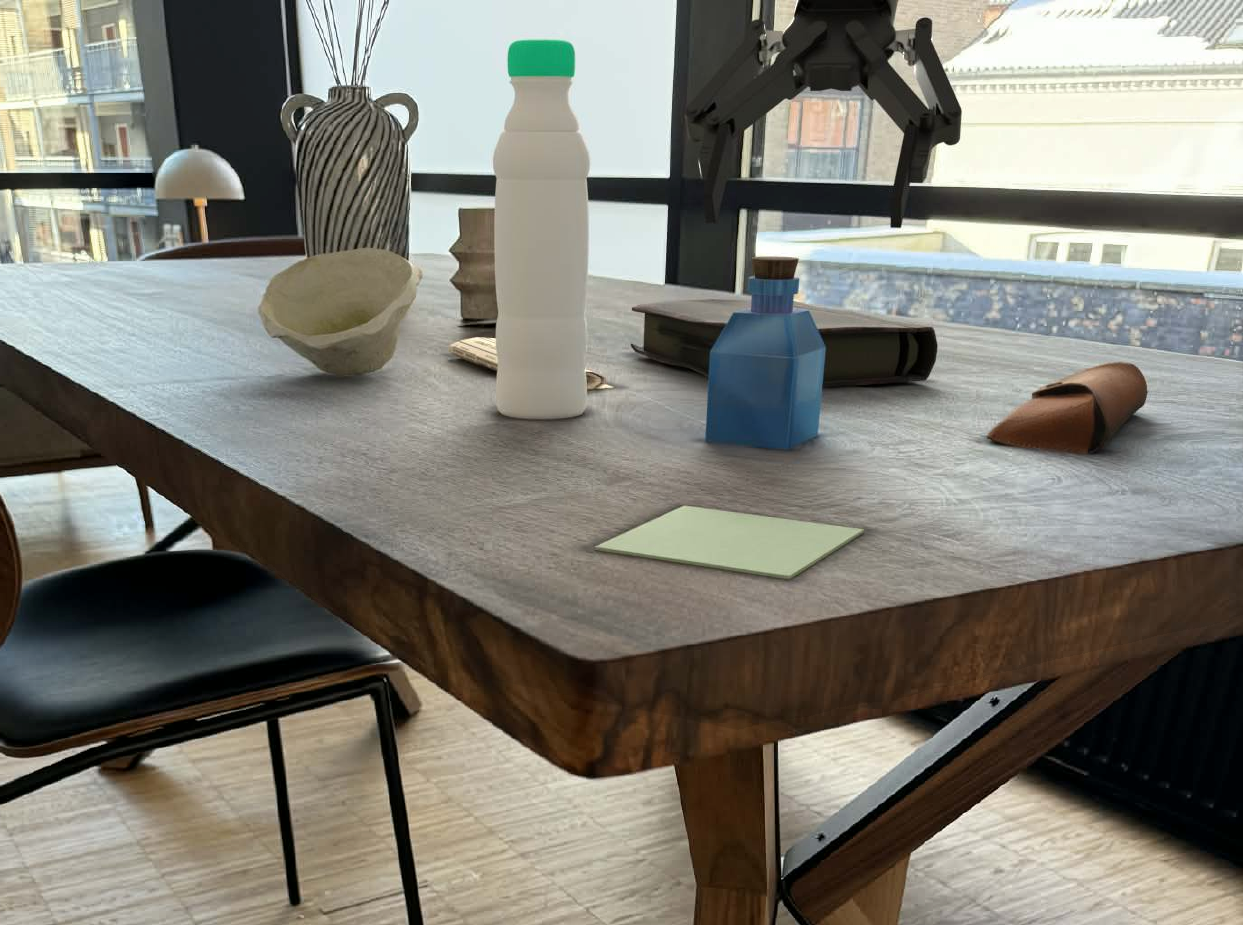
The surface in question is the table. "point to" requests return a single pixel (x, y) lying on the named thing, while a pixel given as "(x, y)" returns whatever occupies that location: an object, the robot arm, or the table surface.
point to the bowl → (341, 308)
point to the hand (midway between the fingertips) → (800, 212)
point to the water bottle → (541, 239)
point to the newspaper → (486, 356)
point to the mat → (733, 541)
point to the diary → (850, 338)
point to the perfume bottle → (767, 366)
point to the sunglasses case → (1076, 410)
